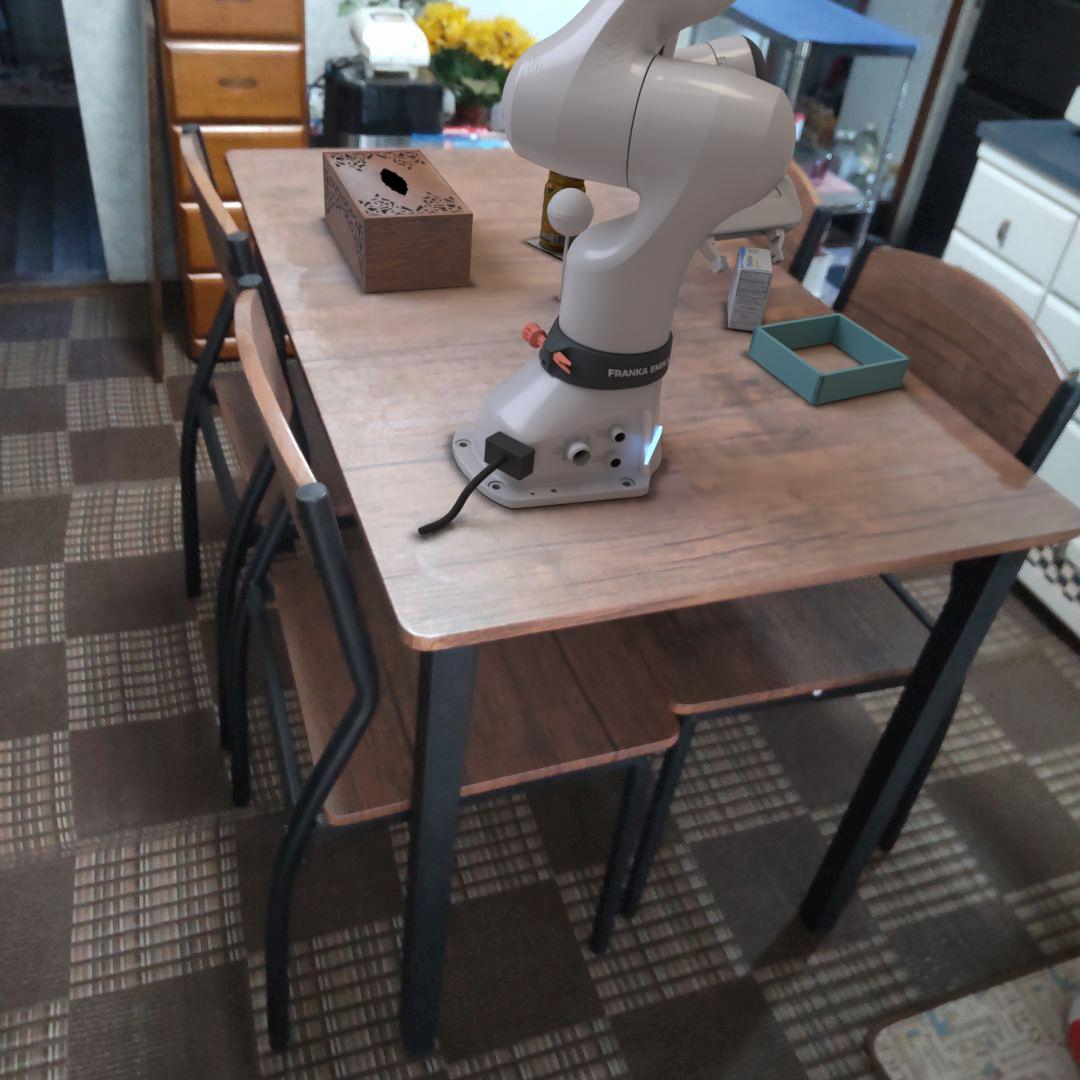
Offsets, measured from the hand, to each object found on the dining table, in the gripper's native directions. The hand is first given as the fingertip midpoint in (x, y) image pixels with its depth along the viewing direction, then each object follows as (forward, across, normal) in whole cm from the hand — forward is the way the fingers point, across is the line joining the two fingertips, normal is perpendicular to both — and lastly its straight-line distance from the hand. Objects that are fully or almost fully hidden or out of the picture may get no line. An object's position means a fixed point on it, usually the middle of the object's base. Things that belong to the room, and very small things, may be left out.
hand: (749, 267), depth 134 cm
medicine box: (+6, -1, +3) cm, 7 cm away
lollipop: (-3, -23, +12) cm, 26 cm away
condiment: (-14, -14, +23) cm, 30 cm away
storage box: (+17, 0, -8) cm, 19 cm away
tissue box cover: (-17, -39, +26) cm, 50 cm away
